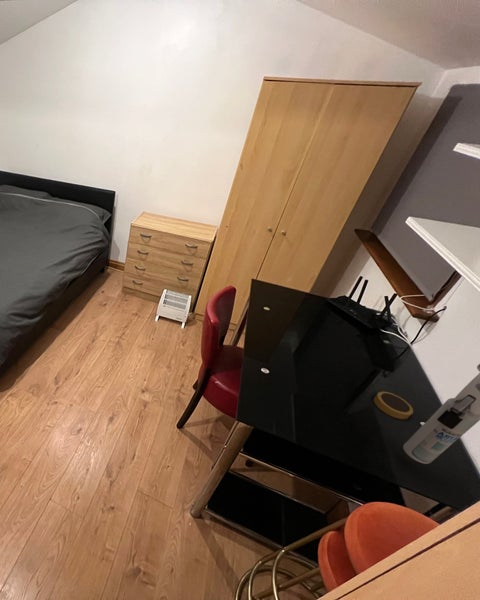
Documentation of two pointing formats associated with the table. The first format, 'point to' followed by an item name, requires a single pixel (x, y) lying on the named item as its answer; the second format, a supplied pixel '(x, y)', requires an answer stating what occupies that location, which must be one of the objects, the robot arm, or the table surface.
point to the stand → (393, 405)
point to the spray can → (437, 435)
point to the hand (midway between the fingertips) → (452, 420)
